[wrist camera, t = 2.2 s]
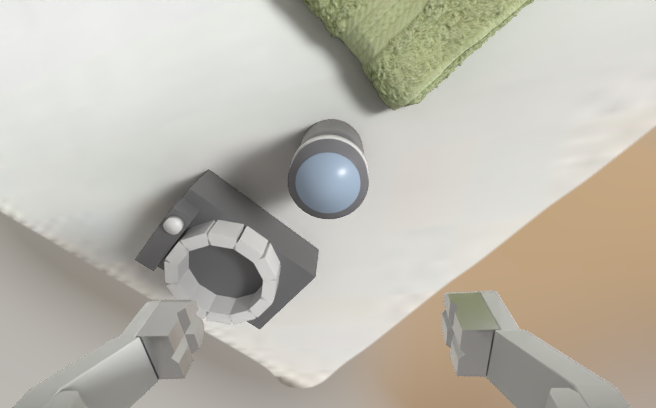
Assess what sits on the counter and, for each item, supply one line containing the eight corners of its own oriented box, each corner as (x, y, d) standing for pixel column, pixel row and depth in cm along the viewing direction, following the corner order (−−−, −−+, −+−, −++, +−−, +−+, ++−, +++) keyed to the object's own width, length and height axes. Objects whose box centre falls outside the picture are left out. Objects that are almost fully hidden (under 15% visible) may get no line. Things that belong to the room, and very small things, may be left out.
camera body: (162, 232, 31) (123, 274, 25) (210, 167, 28) (177, 198, 22) (267, 300, 34) (252, 350, 28) (320, 248, 31) (315, 293, 25)
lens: (303, 182, 28) (291, 223, 22) (295, 120, 26) (280, 146, 20) (365, 178, 28) (371, 219, 21) (362, 115, 26) (369, 139, 19)
